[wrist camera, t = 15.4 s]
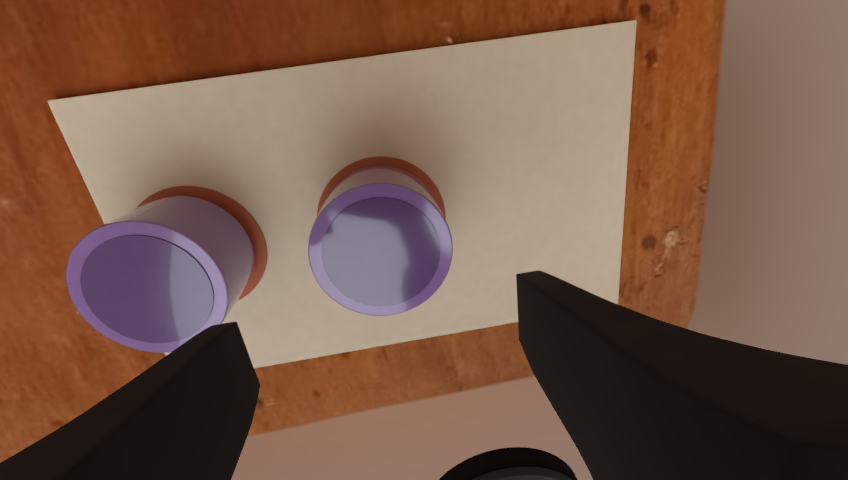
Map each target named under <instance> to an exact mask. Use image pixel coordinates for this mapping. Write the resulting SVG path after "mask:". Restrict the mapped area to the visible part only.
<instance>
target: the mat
mask: <svg viewBox="0 0 848 480" xmlns="http://www.w3.org/2000/svg"><path fill="white" fill-rule="evenodd" d="M636 22H637V21H636V20H631V21H624V22H616V23H609V24H602V25H594V26H587V27H580V28H573V29H565V30H558V31H551V32H543V33H536V34H529V35H521V36H514V37H507V38H499V39H492V40H485V41H477V42H470V43H463V44H456V45H448V46H441V47H434V48H426V49H419V50H412V51H404V52H397V53H390V54H382V55H375V56H368V57H361V58H353V59H346V60H339V61H331V62H324V63H317V64H309V65H302V66H295V67H287V68H280V69H273V70H265V71H258V72H251V73H244V74H236V75H229V76H222V77H214V78H207V79H200V80H192V81H185V82H178V83H170V84H163V85H156V86H148V87H141V88H134V89H127V90H119V91H112V92H105V93H97V94H90V95H83V96H75V97H68V98H61V99H53V100H48V101H47V102H48V104H49V106H50V108H51V111H52V113H53V115H54V117H55V119H56V121H57V123H58V126H59V128H60V130H61V132H62V134H63V136H64V138H65V141H66V143H67V145H68V147H69V149H70V151H71V153H72V156H73V158H74V160H75V162H76V164H77V166H78V168H79V171H80V173H81V175H82V177H83V179H84V181H85V183H86V186H87V188H88V190H89V192H90V194H91V196H92V198H93V201H94V203H95V205H96V207H97V209H98V211H99V213H100V216H101V218H102V220H103V222H104V224H106V223H108V222H110V221H112V220H114V219H116V218H118V217H120V216H122V215H124V214H126V213H128V212H130V211H132V210H134V209H136V208H138V207H140V206H142V205H144V204H146V203H148V202H150V201H153V200H156V199H158V198H163V197H167V196H189V197H195V198H199V199H203V200H206V201H208V202H211V203H213V204H215V205H217V206H219V207H221V208H222V209H224V210H225V211H227V212H228V213H229V214H230V215H232V216H233V217H234V218H235V219H236V220H237V221H238V222H239V223H240V224H241V226H242V227H243V228H244V230H245V231H246V233H247V235H248V237H249V239H250V241H251V244H252V247H253V251H254V258H255V263H254V270H253V274H252V277H251V280H250V282H249V283H248V285H247V287H246V288H245V290H244V291H243V293H242V294H241V296H240V297H239V299H238V300H237V302H236V303H235V305H234V306H233V308H232V309H231V311H230V312H229V314H228V315H227V317H226V318H225V320H224V321H223V323H222V324H224V323H230V322H236V321H237V324H238V327H239V329H240V332H241V335H242V338H243V340H244V343H245V346H246V348H247V351H248V354H249V357H250V359H251V362H252V365H253V367H254V368H259V367H264V366H270V365H276V364H281V363H287V362H293V361H299V360H304V359H310V358H316V357H321V356H327V355H333V354H338V353H344V352H350V351H355V350H361V349H367V348H373V347H378V346H384V345H390V344H395V343H401V342H407V341H412V340H418V339H424V338H430V337H435V336H441V335H447V334H452V333H458V332H464V331H469V330H475V329H481V328H486V327H492V326H498V325H504V324H509V323H515V322H518V304H517V283H516V274H520V273H526V272H532V271H537V270H540V271H543V272H545V273H548V274H550V275H553V276H555V277H557V278H559V279H561V280H564V281H566V282H568V283H570V284H572V285H574V286H577V287H579V288H581V289H583V290H585V291H588V292H590V293H592V294H594V295H596V296H599V297H601V298H603V299H606V300H608V301H610V302H613V303H615V304H618V297H619V282H620V266H621V251H622V236H623V221H624V205H625V190H626V175H627V160H628V144H629V129H630V114H631V99H632V83H633V68H634V53H635V38H636ZM370 166H390V167H396V168H399V169H402V170H405V171H407V172H409V173H411V174H412V175H414V176H416V177H417V178H418V179H420V180H421V181H422V182H423V183H424V184H425V185H426V186H427V187H428V188H429V190H430V191H431V193H432V194H433V196H434V198H435V200H436V202H437V204H438V206H439V208H440V210H441V212H442V214H443V216H444V218H445V220H446V222H447V224H448V226H449V229H450V232H451V236H452V241H453V255H452V262H451V266H450V269H449V271H448V274H447V276H446V278H445V280H444V282H443V283H442V285H441V286H440V287H439V289H438V290H437V291H436V292H435V293H434V294H433V295H432V296H431V297H430V298H429V299H428V300H426V301H425V302H424V303H422V304H420V305H419V306H417V307H415V308H413V309H411V310H408V311H406V312H403V313H399V314H394V315H387V316H374V315H366V314H361V313H358V312H355V311H352V310H349V309H347V308H345V307H343V306H341V305H340V304H338V303H337V302H335V301H334V300H333V299H332V298H330V297H329V296H328V295H327V294H326V293H325V292H324V290H323V289H322V288H321V287H320V285H319V284H318V282H317V281H316V279H315V277H314V275H313V272H312V269H311V267H310V262H309V257H308V243H309V237H310V233H311V229H312V227H313V225H314V222H315V220H316V218H317V216H318V214H319V212H320V210H321V207H322V205H323V203H324V201H325V199H326V197H327V195H328V194H329V192H330V191H331V189H332V188H333V187H334V186H335V184H337V183H338V182H339V181H340V180H341V179H342V178H344V177H345V176H346V175H348V174H350V173H352V172H354V171H356V170H359V169H361V168H365V167H370ZM164 353H165V355H166V356H167V355H168V354H170V353H171V352H164Z"/></svg>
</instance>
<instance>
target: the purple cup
mask: <svg viewBox="0 0 848 480" xmlns="http://www.w3.org/2000/svg"><path fill="white" fill-rule="evenodd" d="M452 255H453V241H452V236H451V232H450V229H449V226H448V224H447V222H446V220H445V218H444V216H443V214H442V212H441V210H440V208H439V206H438V204H437V202H436V200H435V198H434V196H433V194H432V193H431V191H430V190H429V188H428V187H427V186H426V185H425V184H424V183H423V182H422V181H421V180H420V179H418V178H417V177H416V176H414V175H412V174H411V173H409V172H407V171H405V170H402V169H399V168H396V167H390V166H370V167H365V168H361V169H359V170H356V171H354V172H352V173H350V174H348V175H346V176H345V177H344V178H342V179H341V180H340V181H339V182H338V183H337V184H335V186H334V187H333V188H332V189H331V191H330V192H329V194H328V195H327V197H326V199H325V201H324V203H323V205H322V207H321V210H320V212H319V214H318V216H317V218H316V220H315V222H314V225H313V227H312V229H311V233H310V237H309V243H308V257H309V262H310V267H311V269H312V272H313V275H314V277H315V279H316V281H317V282H318V284H319V285H320V287H321V288H322V289H323V290H324V292H325V293H326V294H327V295H328V296H329V297H330V298H332V299H333V300H334V301H335V302H337V303H338V304H340V305H341V306H343V307H345V308H347V309H349V310H352V311H355V312H358V313H361V314H366V315H374V316H387V315H394V314H399V313H403V312H406V311H408V310H411V309H413V308H415V307H417V306H419V305H420V304H422V303H424V302H425V301H426V300H428V299H429V298H430V297H431V296H432V295H433V294H434V293H435V292H436V291H437V290H438V289H439V287H440V286H441V285H442V283H443V282H444V280H445V278H446V276H447V274H448V271H449V269H450V266H451V262H452Z"/></svg>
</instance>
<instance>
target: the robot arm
mask: <svg viewBox="0 0 848 480" xmlns="http://www.w3.org/2000/svg"><path fill="white" fill-rule="evenodd" d="M516 283H517V304H518V325H519V340H520V343H521V345H522V347H523V350H524V352H525V355H526V357H527V360H528V362H529V364H530V367H531V369H532V371H533V373H534V375H535V377H536V378H537V380H538V382H539V383H540V385H541V387H542V389H543V391H544V392H545V394H546V396H547V397H548V399H549V401H550V402H551V404H552V406H553V408H554V409H555V411H556V413H557V414H558V416H559V418H560V419H561V421H562V423H563V425H564V426H565V428H566V430H567V431H568V433H569V435H570V436H571V438H572V440H573V442H574V443H575V445H576V447H577V448H578V450H579V452H580V454H581V456H582V458H583V460H584V461H585V463H586V465H587V467H588V469H589V471H590V473H591V475H592V478H593V480H848V365H844V364H838V363H833V362H828V361H822V360H816V359H811V358H805V357H800V356H794V355H789V354H784V353H780V352H775V351H770V350H765V349H761V348H756V347H753V346H748V345H744V344H740V343H736V342H732V341H728V340H723V339H720V338H716V337H712V336H708V335H705V334H701V333H698V332H695V331H691V330H688V329H685V328H682V327H678V326H675V325H672V324H669V323H666V322H663V321H660V320H657V319H654V318H651V317H648V316H646V315H643V314H641V313H638V312H635V311H633V310H630V309H628V308H625V307H622V306H620V305H618V304H615V303H613V302H610V301H608V300H606V299H603V298H601V297H599V296H596V295H594V294H592V293H590V292H588V291H585V290H583V289H581V288H579V287H577V286H574V285H572V284H570V283H568V282H566V281H564V280H561V279H559V278H557V277H555V276H553V275H550V274H548V273H545V272H543V271H540V270H537V271H532V272H526V273H520V274H516ZM259 388H260V384H259V381H258V378H257V376H256V373H255V370H254V367H253V365H252V362H251V359H250V357H249V354H248V351H247V348H246V346H245V343H244V340H243V338H242V335H241V332H240V329H239V327H238V324H237V321H236V322H230V323H224V324H218V325H212V326H210V327H209V328H207V329H205V330H203V331H202V332H200V333H198V334H197V335H195V336H194V337H192V338H191V339H189V340H188V341H186V342H185V343H184V344H182V345H181V346H179V347H178V348H177V349H175V350H174V351H172V352H171V353H170V354H168V355H167V356H165V357H164V358H163V359H161V360H160V361H158V362H157V363H156V364H154V365H153V366H151V367H150V368H149V369H147V370H146V371H144V372H143V373H142V374H140V375H139V376H137V377H136V378H134V379H133V380H132V381H130V382H129V383H127V384H126V385H124V386H123V387H121V388H120V389H118V390H117V391H115V392H114V393H112V394H111V395H109V396H108V397H107V398H105V399H104V400H102V401H101V402H99V403H98V404H96V405H95V406H93V407H92V408H90V409H89V410H87V411H86V412H84V413H83V414H81V415H80V416H78V417H77V418H75V419H73V420H72V421H70V422H69V423H67V424H65V425H64V426H62V427H61V428H59V429H57V430H56V431H54V432H53V433H51V434H49V435H47V436H46V437H44V438H42V439H41V440H39V441H37V442H36V443H34V444H32V445H31V446H29V447H27V448H26V449H24V450H22V451H20V452H19V453H17V454H15V455H14V456H12V457H10V458H8V459H7V460H5V461H3V462H1V463H0V480H231V478H232V475H233V472H234V470H235V467H236V465H237V462H238V459H239V457H240V454H241V451H242V449H243V446H244V443H245V440H246V438H247V435H248V432H249V429H250V427H251V424H252V420H253V416H254V411H255V407H256V403H257V398H258V393H259Z"/></svg>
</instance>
